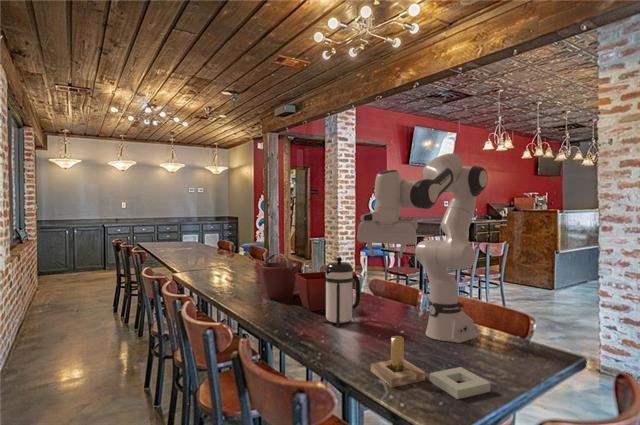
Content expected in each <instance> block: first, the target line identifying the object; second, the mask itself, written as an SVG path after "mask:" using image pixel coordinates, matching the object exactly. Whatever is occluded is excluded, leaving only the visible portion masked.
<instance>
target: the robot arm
mask: <svg viewBox="0 0 640 425" xmlns="http://www.w3.org/2000/svg"><path fill="white" fill-rule="evenodd" d="M422 170H423V171H422V176H423V179H419V180H417V179H416V180H405V179H404V178H402V177H401V175H400V171H399V170H397V169H389V170H381V171H379V172H378V173H377V174H376V176H375V182H374V198H375V203H374V207H373V208H374V209H373V210H374V211H372V212H368V213H365V214H362V215H361V216H360V221H361V222H360V223H359V225H358V227H357V232H356V233H357V234H356V235H357V236H356V239H357V242H358V243H366V247H367V248H368V250H369V256H370V257H375V256H376V250H373V248H372V246H373V244H386V245H387V244H389V245H400V248H401V250H400V251H398V252H397V256H396V257H397V258H398V259H399V258H403V253H404V252H405V249H406V247H407V245H408V246H413V245H415V244H416V243H417V240H418V238H417V230H418V220H417V219H415V218H414V217H412V216H411V217H410V216H409V217H407V216H406V217H405V216H401V209H423V210H424V209H425V210H429V209H431V208H432V207H434V206H435V204H436V203H437V201H438V200H439V198H440V196H441V195H443V194H444V193H448V192H449V193H453V196H452V198H451V199H450V201H449V203H448V205H447V207H446V209H445V213H444V215H443V218H442V220H441V222H440V223H441V224H440V227H441V230H442V232H443V233H444V234H445V235H447V237H446V239H445V240H441V239H440V240H438V239H437V240H436V239H426V240H422V241H420V242H418V243H417V245H416V247H415V250H414V251H415V252H414V253H415V258H416V260H417V261H418V262H419V263H420V264H421V266H422V267H423V268H424V270H425V272H426V275H427V278H428V284H429V300H428V314H429V315H428V319H427V320H428V321H427V326H426V331H425V336H427V337H428V338H430V339H433V340H436V341H445V342H452V343H458V344H459V343H463V342H467V341H470V340H473V339H476V338H480V337H482V333H481V332H480V331H478V330H476V327H475V326H476V325H475V321H474V320H473V319H472V318H471V317H470V316H469V315H468V314H466V313H465V312H464V311H462V308H463V309H465V308H466V307H467V305H468V304H466V303H465V302H463V301H462V302H460V301H459V284H458V281H457V280H456V279H455V278H454V277H452V276H451V275H450V273H449V271H448V269H451V270H469V269H471V268H472V267H473V265H475V262H476V259H477V257H476V256H477V254H476V251H475V249H474V247H473V246H472V245H471V244H470V242H469V240H468V234H469V231H470V230H469V229H470V226H471V223H472V220H473V218H474V214H475V210H476V204H477V198H476V197H478V196H479V195H480V194H481V193H482V192H483V191H484V190H485V188H486V186H487V185H488V179H489V178H488V172H487V170H486V169H485V168H484V167H482V166H478V165H473V166H472V165H471V166H470V165H469V166H468V165H463V160H462V159H461V157H460V156H459V155H458V154H456V153H452V152H451V153H445V154H442V155H439V156H437V157H435V158H433V159H432V160H430V161H428V163H426V165H425V166H424V167H423V169H422Z"/></svg>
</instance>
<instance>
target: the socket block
mask: <svg viewBox="0 0 640 425" xmlns="http://www.w3.org/2000/svg"><path fill="white" fill-rule="evenodd" d="M429 382H430V383H431V384H433V385H435V386H436V387H438V388H439V389H441V390H442V391H444V392H446V393H447V394H449V395H450V396H452V397H453V398H455V399H457V400H460V399H465V398H469V397H473V396H477V395H482V394H486V393H489V392H491V382H490V381H488V380H486V379H484V378H482V377H481V376H478V375H477V374H475V373H473V372H471V371H469V370H467V369H465V368H464V367H461V366H459V367H458V366H457V367H454V368H448V369H444V370H438V371H434V372H430V373H429ZM458 382H459V383H458Z"/></svg>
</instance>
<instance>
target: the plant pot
mask: <svg viewBox="0 0 640 425" xmlns="http://www.w3.org/2000/svg"><path fill="white" fill-rule="evenodd" d="M295 276H296V283H295V284H296V287H297V291H298V295H299V298H300V302H301V304H302V306H303V308H305V309H307V310H308V311H310V312H313V311H314V312H315V311H325V283H326V271H315V272H297V274H295Z"/></svg>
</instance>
